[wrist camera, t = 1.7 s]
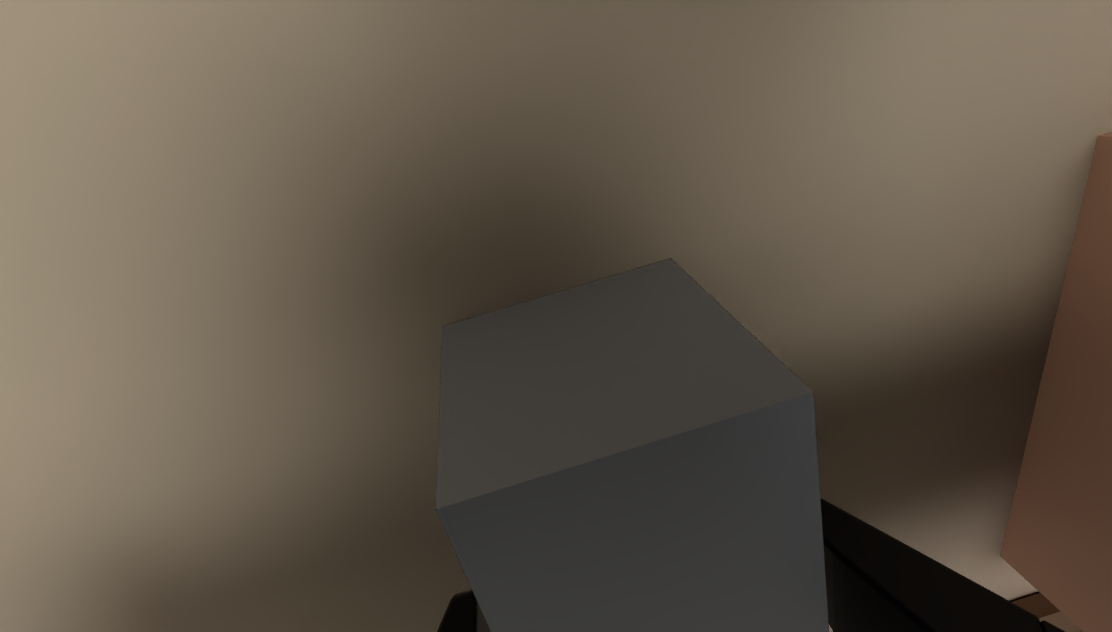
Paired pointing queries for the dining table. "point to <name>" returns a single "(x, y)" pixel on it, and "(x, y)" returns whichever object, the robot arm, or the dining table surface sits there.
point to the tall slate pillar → (629, 465)
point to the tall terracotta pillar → (1074, 431)
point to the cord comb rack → (1047, 612)
